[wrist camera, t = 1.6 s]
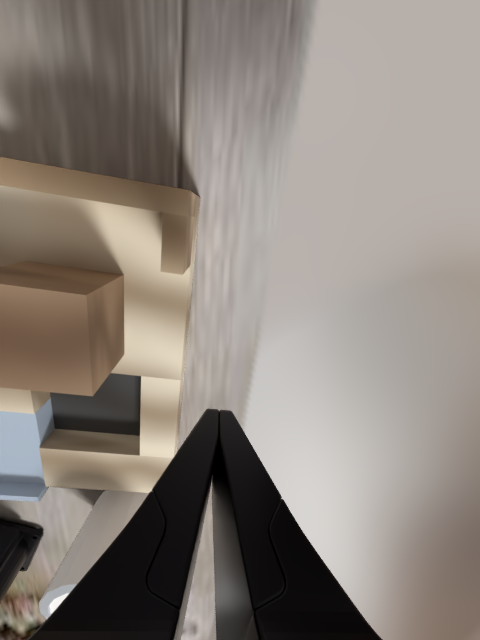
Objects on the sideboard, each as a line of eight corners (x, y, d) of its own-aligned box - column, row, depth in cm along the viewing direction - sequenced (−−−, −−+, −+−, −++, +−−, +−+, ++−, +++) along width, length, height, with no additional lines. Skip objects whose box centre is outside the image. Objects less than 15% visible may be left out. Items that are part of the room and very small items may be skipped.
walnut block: (124, 354, 16) (92, 396, 12) (38, 344, 15) (-23, 385, 12) (123, 274, 14) (86, 295, 10) (26, 260, 14) (-50, 277, 10)
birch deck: (175, 471, 23) (163, 529, 18) (-23, 457, 21) (-86, 517, 17) (200, 198, 15) (189, 190, 10) (-116, 143, 13) (-277, 108, 9)
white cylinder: (74, 494, 23) (14, 602, 17) (142, 471, 22) (107, 574, 16) (115, 536, 26) (77, 645, 19) (178, 517, 25) (160, 622, 18)
